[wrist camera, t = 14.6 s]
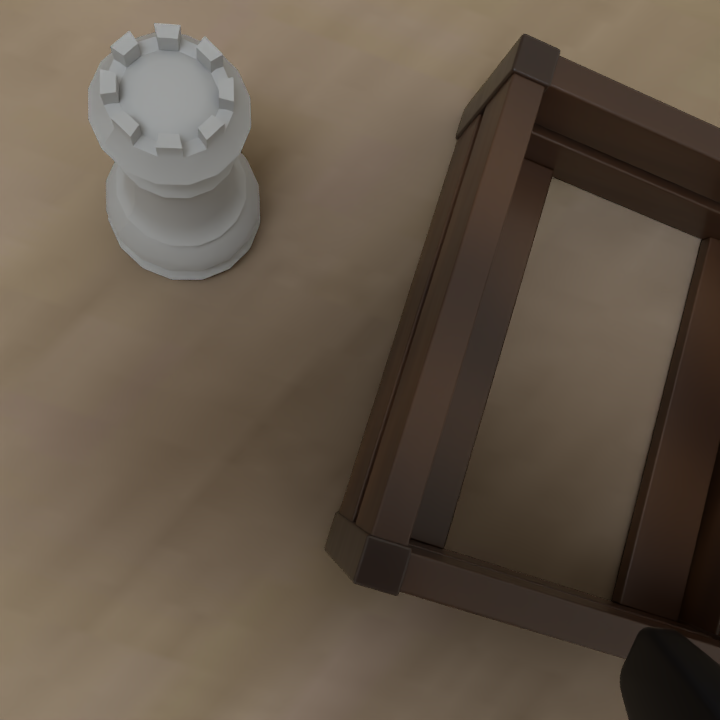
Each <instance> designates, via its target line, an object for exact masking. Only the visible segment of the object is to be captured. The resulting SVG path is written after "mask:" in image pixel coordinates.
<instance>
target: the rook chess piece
mask: <svg viewBox="0 0 720 720" xmlns="http://www.w3.org/2000/svg"><path fill="white" fill-rule="evenodd" d="M154 27H155V32H154V33H151V34H147V35H144V36H141V37H138V38H134V36H133V35H132V34H131V32H130V31H128V32H127V33H126V34H125V35H123V36H122V37H121V38H120V39H119V40H117V41H116V42H115V43H114V44H113V45H112V46H110V48H111V51H112V52H111V53H110V54H109V55H108V56H107V57H105V58H104V59H103V60H102V61H101V62H100V64H99V67H98V69H97V71H96V73H95V75H94V77H93V80H92V82H91V84H90V86H89V88H88V120H89V122H90V124H91V126H92V128H93V131H94V133H95V135H96V137H97V140H98V142H99V144H100V146H101V148H102V149H103V150H104V151H105V152H106V153H107V154H108V155H109V156H110V157H111V158H112V159H113V160H114V161H115V162H114V164H113V166H112V169H111V171H110V173H109V175H108V178H107V180H106V211H107V213H108V220H109V222H110V225H111V227H112V229H113V231H114V233H115V236H116V238H117V240H118V242H119V245H120V247H121V248H122V249H123V250H124V251H125V252H126V253H127V254H128V255H129V256H131V257H132V258H133V259H134V260H135V261H136V262H137V263H138V264H139V265H140V266H141V267H142V268H144V269H146V270H149V271H151V272H154V273H156V274H159V275H161V276H164V277H166V278H169V279H171V280H203V279H205V278H208V277H210V276H213V275H215V274H218V273H220V272H223V271H225V270H228V269H230V268H231V267H232V266H233V265H234V264H235V263H236V262H237V261H238V260H239V259H240V258H241V257H242V256H243V255H244V254H245V253H246V252H247V251H248V250H249V249H250V247H251V245H252V242H253V240H254V237H255V235H256V232H257V230H258V227H259V225H260V195H259V185H258V183H257V180H256V178H255V176H254V174H253V171H252V169H251V167H250V165H249V163H248V160H247V159H246V157H245V156H244V155H243V154H242V153H241V150H242V148H243V145H244V143H245V141H246V138H247V136H248V133H249V131H250V129H251V105H250V96H249V94H248V92H247V89H246V87H245V85H244V83H243V80H242V78H241V76H240V74H239V72H238V70H237V69H236V68H235V67H234V66H233V65H232V64H231V63H230V62H229V61H228V60H227V59H226V58H225V57H224V56H223V54H222V53H221V52H220V51H219V50H218V49H217V48H216V47H215V46H214V45H213V44H212V43H211V42H210V41H209V40H208V39H207V38H206V37H205V36H204V37H203V39H202V40H201V41H199V40H197V39H194V38H192V37H190V36H188V35H183V34H181V27H180V25H173V24H160V23H154Z"/></svg>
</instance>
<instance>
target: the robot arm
mask: <svg viewBox="0 0 720 720" xmlns="http://www.w3.org/2000/svg"><path fill="white" fill-rule="evenodd" d="M620 688H621V693H622V697H623V700H624V704H625V708H626V711H627V715H628V719H629V720H720V664H718V663H717V662H716V661H715V660H713V659H712V658H711V657H710V656H708V655H707V654H706V653H705V652H704V651H702V650H701V649H700V648H699V647H697V646H696V645H695V644H694V643H692V642H691V641H690V640H689V639H687V638H686V637H685V636H684V635H683V634H681V633H680V632H678V631H677V630H675V629H671V628H659V627H645V628H643V629H642V630H640V631H639V632H638V634H637V636H636V638H635V640H634V643H633V645H632V647H631V649H630V651H629V654H628V656H627V658H626V660H625V662H624V665H623V667H622V669H621V674H620Z"/></svg>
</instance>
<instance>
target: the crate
mask: <svg viewBox="0 0 720 720" xmlns="http://www.w3.org/2000/svg"><path fill="white" fill-rule="evenodd" d="M559 55H560V50H559V49H558V48H556V47H553V46H551V45H549V44H547V43H545V42H542V41H540V40H538V39H536V38H534V37H531V36H529V35H527V34H523V35H522V36H521V37H520V38H519V39H518V41H517V42H516V43H515V45H514V46H513V47H512V48H511V50H510V51H509V52H508V54H507V55H506V56H505V57H504V59H503V60H502V61H501V63H500V64H499V65H498V66H497V68H496V69H495V70H494V72H493V73H492V74H491V75H490V77H489V78H488V79H487V81H486V82H485V83H484V84H483V86H482V87H481V88H480V90H479V91H478V92H477V93H476V95H475V96H474V97H473V99H472V100H471V101H470V102H469V104H468V105H467V106H466V108H465V109H464V112H463V115H462V118H461V121H460V125H459V128H458V131H457V134H456V139H458V140H457V143H456V146H455V150H454V153H453V156H452V159H451V162H450V165H449V169H448V172H447V175H446V178H445V181H444V184H443V187H442V191H441V194H440V197H439V200H438V203H437V206H436V209H435V213H434V216H433V219H432V222H431V225H430V228H429V231H428V235H427V238H426V241H425V244H424V247H423V250H422V253H421V257H420V260H419V263H418V266H417V269H416V272H415V276H414V279H413V282H412V285H411V288H410V291H409V294H408V298H407V301H406V304H405V307H404V310H403V313H402V316H401V320H400V323H399V326H398V329H397V332H396V335H395V338H394V342H393V345H392V348H391V351H390V354H389V357H388V360H387V364H386V367H385V370H384V373H383V376H382V379H381V383H380V386H379V389H378V392H377V395H376V398H375V401H374V405H373V408H372V411H371V414H370V417H369V420H368V423H367V427H366V430H365V433H364V436H363V439H362V442H361V445H360V449H359V452H358V455H357V458H356V461H355V464H354V467H353V471H352V474H351V477H350V480H349V483H348V486H347V490H346V493H345V496H344V499H343V502H342V505H341V508H340V512H337V513H336V514H335V517H334V520H333V523H332V526H331V529H330V532H329V536H328V539H327V542H326V545H325V551H326V552H327V553H328V554H329V555H330V556H331V558H332V559H333V560H334V561H335V562H336V563H337V564H338V566H339V567H340V568H341V569H342V570H343V571H344V572H345V574H346V575H347V576H348V577H349V578H350V579H351V580H352V581H353V583H355V584H358V585H361V586H364V587H368V588H371V589H374V590H378V591H381V592H385V593H388V594H391V595H395V596H397V595H398V594H399V592H402V593H405V594H409V595H412V596H416V597H419V598H422V599H426V600H429V601H432V602H436V603H439V604H442V605H446V606H449V607H453V608H456V609H459V610H463V611H466V612H469V613H473V614H476V615H479V616H483V617H486V618H490V619H493V620H496V621H500V622H503V623H506V624H510V625H513V626H516V627H520V628H523V629H527V630H530V631H533V632H537V633H540V634H543V635H547V636H550V637H553V638H557V639H560V640H563V641H567V642H570V643H574V644H577V645H580V646H584V647H587V648H590V649H594V650H597V651H600V652H604V653H607V654H611V655H614V656H617V657H621V658H624V659H626V658H627V656H628V654H629V651H630V649H631V647H632V645H633V643H634V640H635V638H636V636H637V634H638V632H639V631H640V630H642V629H643V628H645V627H659V628H671V629H675V630H677V631H678V632H680V633H681V634H683V635H684V636H685V637H686V638H687V639H689V640H690V641H691V642H692V643H694V644H695V645H696V646H697V647H699V648H700V649H701V650H702V651H704V652H705V653H706V654H707V655H708V656H710V657H711V658H712V659H713V660H715V661H716V662H717V663H718V664H720V128H718V127H716V126H714V125H712V124H709V123H707V122H705V121H703V120H700V119H698V118H696V117H694V116H692V115H689V114H687V113H685V112H683V111H681V110H678V109H676V108H674V107H672V106H670V105H667V104H665V103H663V102H661V101H659V100H656V99H654V98H652V97H650V96H647V95H645V94H643V93H641V92H639V91H636V90H634V89H632V88H630V87H628V86H625V85H623V84H621V83H619V82H617V81H614V80H612V79H610V78H608V77H606V76H603V75H601V74H599V73H597V72H595V71H592V70H590V69H588V68H586V67H583V66H581V65H579V64H577V63H575V62H572V61H570V60H568V59H566V58H564V57H561V56H559ZM552 176H553V177H555V178H558V179H560V180H562V181H565V182H567V183H570V184H572V185H574V186H577V187H579V188H582V189H584V190H586V191H589V192H591V193H593V194H596V195H598V196H601V197H603V198H605V199H608V200H610V201H612V202H615V203H617V204H620V205H622V206H624V207H627V208H629V209H632V210H634V211H636V212H639V213H641V214H643V215H646V216H648V217H651V218H653V219H655V220H658V221H660V222H662V223H665V224H667V225H670V226H672V227H674V228H677V229H679V230H682V231H684V232H686V233H689V234H691V235H693V236H696V237H698V238H701V239H703V240H702V242H701V246H700V250H699V254H698V258H697V262H696V266H695V270H694V274H693V278H692V282H691V286H690V290H689V294H688V298H687V302H686V306H685V310H684V314H683V318H682V322H681V326H680V330H679V334H678V338H677V342H676V346H675V350H674V354H673V358H672V362H671V366H670V370H669V374H668V378H667V382H666V386H665V390H664V394H663V398H662V402H661V406H660V410H659V414H658V418H657V422H656V426H655V430H654V434H653V438H652V442H651V446H650V450H649V454H648V458H647V462H646V466H645V470H644V474H643V478H642V482H641V486H640V490H639V494H638V498H637V502H636V506H635V510H634V514H633V518H632V522H631V526H630V530H629V534H628V538H627V542H626V546H625V550H624V554H623V558H622V562H621V566H620V570H619V574H618V578H617V582H616V586H615V590H614V594H613V598H612V601H610V600H606V599H603V598H600V597H597V596H594V595H590V594H587V593H584V592H581V591H578V590H574V589H571V588H568V587H565V586H562V585H558V584H555V583H552V582H549V581H546V580H542V579H539V578H536V577H533V576H530V575H526V574H523V573H520V572H517V571H513V570H510V569H507V568H504V567H501V566H497V565H494V564H491V563H488V562H485V561H481V560H478V559H475V558H472V557H469V556H465V555H462V554H459V553H456V552H453V551H449V550H446V549H443V548H444V546H445V543H446V539H447V536H448V532H449V529H450V525H451V522H452V519H453V515H454V512H455V508H456V505H457V501H458V498H459V495H460V491H461V488H462V484H463V481H464V477H465V474H466V470H467V467H468V464H469V460H470V457H471V453H472V450H473V446H474V443H475V440H476V436H477V433H478V429H479V426H480V422H481V419H482V416H483V412H484V409H485V405H486V402H487V398H488V395H489V391H490V388H491V385H492V381H493V378H494V374H495V371H496V367H497V364H498V361H499V357H500V354H501V350H502V347H503V343H504V340H505V337H506V333H507V330H508V326H509V323H510V319H511V316H512V312H513V309H514V306H515V302H516V299H517V295H518V292H519V288H520V285H521V282H522V278H523V275H524V271H525V268H526V264H527V261H528V258H529V254H530V251H531V247H532V244H533V240H534V237H535V233H536V230H537V227H538V223H539V220H540V216H541V213H542V209H543V206H544V203H545V199H546V196H547V192H548V189H549V185H550V182H551V179H552Z"/></svg>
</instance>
